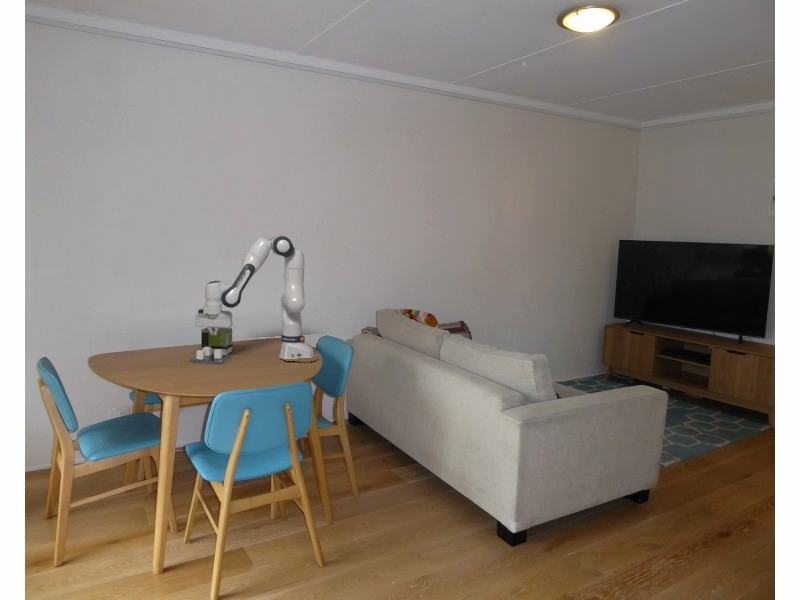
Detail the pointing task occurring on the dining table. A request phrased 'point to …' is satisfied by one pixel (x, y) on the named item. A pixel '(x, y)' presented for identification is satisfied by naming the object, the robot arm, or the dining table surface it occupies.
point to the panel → (211, 360)
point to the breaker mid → (218, 353)
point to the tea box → (217, 340)
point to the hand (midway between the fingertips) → (213, 335)
